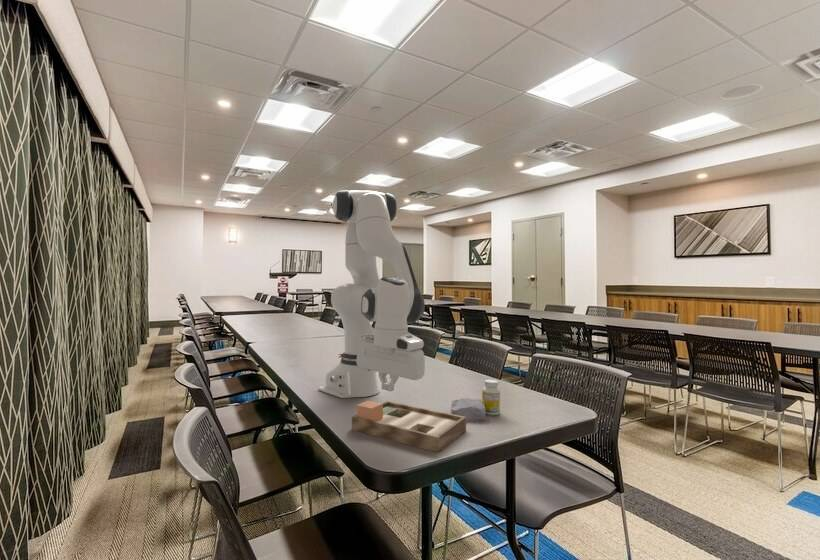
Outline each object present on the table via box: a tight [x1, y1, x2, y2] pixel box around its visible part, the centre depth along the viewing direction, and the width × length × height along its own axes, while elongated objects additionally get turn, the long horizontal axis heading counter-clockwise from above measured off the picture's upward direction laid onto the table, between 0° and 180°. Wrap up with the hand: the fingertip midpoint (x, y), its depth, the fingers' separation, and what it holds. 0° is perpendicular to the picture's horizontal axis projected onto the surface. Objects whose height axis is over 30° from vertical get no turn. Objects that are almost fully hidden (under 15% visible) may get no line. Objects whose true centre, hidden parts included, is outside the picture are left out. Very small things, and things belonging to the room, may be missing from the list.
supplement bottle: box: [481, 379, 501, 416], centre depth 117 cm, size 5×5×10 cm
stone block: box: [450, 397, 487, 421], centre depth 116 cm, size 12×5×10 cm
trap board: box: [351, 400, 467, 453], centre depth 102 cm, size 26×17×3 cm, turn 59°
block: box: [356, 400, 384, 421], centre depth 103 cm, size 5×5×4 cm
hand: (387, 389), depth 102 cm, fingers closed
